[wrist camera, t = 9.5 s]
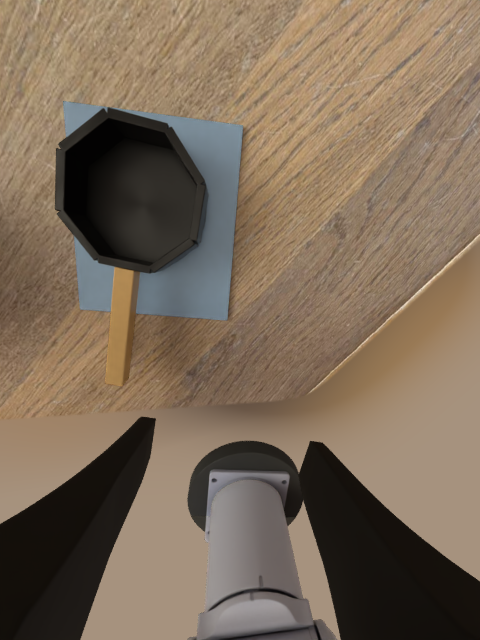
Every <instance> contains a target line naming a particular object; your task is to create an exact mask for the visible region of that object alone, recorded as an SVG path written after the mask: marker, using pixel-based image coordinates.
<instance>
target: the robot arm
mask: <svg viewBox="0 0 480 640" xmlns="http://www.w3.org/2000/svg"><path fill="white" fill-rule="evenodd" d="M155 421H156V419H155V418H148V417H140V418H139V419H138V420H137V421H136V422H135V423H134V424H133V425H132V426H131V427H130V428H129V429H128V430H127V431H126V432H125V433H124V434H123V435H122V436H121V437H120V438H119V439H118V440H117V441H115V442H114V443H113V444H112V445H111V446H110V447H109V448H108V449H107V450H106V451H104V453H102V454H101V455H100V456H98V457H97V458H96V459H95V460H94V461H92V462H91V463H90V464H89V465H87V466H86V467H85V468H84V469H82V470H81V471H80V472H79V473H77V474H76V475H75V476H73V477H72V478H71V479H69V480H68V481H66V482H65V483H64V484H62V485H61V486H60V487H58V488H57V489H55V490H54V491H52V492H51V493H49V494H48V495H46V496H45V497H43V498H42V499H40V500H39V501H37V502H36V503H35V504H33V505H31V506H29V507H28V508H26V509H25V510H23V511H22V512H20V513H18V514H17V515H15V516H13V517H11V518H10V519H8V520H6V521H5V522H3V523H1V524H0V640H80V638H81V636H82V633H83V630H84V627H85V624H86V621H87V618H88V616H89V613H90V610H91V607H92V604H93V601H94V598H95V596H96V593H97V590H98V587H99V584H100V582H101V579H102V576H103V573H104V570H105V568H106V565H107V562H108V559H109V557H110V554H111V552H112V549H113V547H114V544H115V542H116V539H117V537H118V535H119V533H120V531H121V528H122V526H123V524H124V521H125V519H126V517H127V514H128V512H129V510H130V508H131V505H132V503H133V501H134V499H135V496H136V494H137V492H138V489H139V487H140V485H141V483H142V480H143V477H144V474H145V471H146V468H147V465H148V462H149V459H150V455H151V448H152V442H153V435H154V427H155ZM213 478H215V479H213ZM289 479H290V476H289V473H288V472H286V471H258V470H224V469H213V470H211V471H210V475H209V488H208V501H207V515H206V528H205V541H206V542H207V543H209V549H208V565H207V582H206V597H205V612H203V613H200V614H199V615H198V616H199V617H198V628H197V637H190V638H188V639H187V640H337V639H336V637H335V635H334V634H333V632H332V631H331V630H330V629H329V628H328V627H327V626H326V624H325V623H324V622H323V620H321V619H319V620H313V619H312V614H311V610H310V606H309V601H308V600H307V599H303V596H302V591H301V586H300V582H299V577H298V573H297V568H296V564H295V559H294V554H293V550H292V545H291V541H290V537H289V532H288V527H287V523H286V518H285V514H284V507H285V501H286V496H287V490H288V485H289ZM283 480H284V481H283ZM299 481H300V486H301V491H302V496H303V501H304V504H305V507H306V511H307V514H308V517H309V520H310V523H311V526H312V530H313V533H314V536H315V539H316V542H317V546H318V549H319V552H320V555H321V558H322V561H323V565H324V568H325V572H326V576H327V579H328V583H329V588H330V592H331V597H332V601H333V605H334V609H335V614H336V618H337V623H338V628H339V633H340V638H341V640H480V581H478V580H477V579H476V578H474V577H473V576H471V575H470V574H469V573H467V572H466V571H464V570H463V569H461V568H460V567H459V566H457V565H456V564H455V563H453V562H452V561H450V560H449V559H448V558H446V557H445V556H443V555H442V554H441V553H440V552H438V551H437V550H436V549H435V548H433V547H432V546H431V545H430V544H428V543H427V542H426V541H424V540H423V539H422V538H421V537H419V536H418V535H417V534H416V533H415V532H413V531H412V530H411V529H410V528H409V527H408V526H406V525H405V524H404V523H403V522H402V521H401V520H399V519H398V518H397V517H396V516H395V515H394V514H393V513H392V512H390V511H389V510H388V509H387V508H386V507H385V506H384V505H383V504H382V503H381V502H380V501H379V500H378V499H377V498H375V496H373V494H372V493H370V492H369V491H368V490H367V488H365V487H364V486H363V484H361V482H360V481H359V480H358V479H357V478H356V477H355V476H354V475H353V474H352V473H351V472H350V471H349V470H348V469H347V468H346V467H345V466H344V465H343V463H341V462H340V460H339V459H338V458H337V457H336V456H335V455H334V454H333V453H332V452H331V451H330V450H329V449H328V448H327V447H326V446H325V445H324V444H323V443H321V442H314V441H310V443H309V447H308V449H307V452H306V455H305V458H304V461H303V464H302V467H301V470H300V472H299Z"/></svg>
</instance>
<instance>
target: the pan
mask: <svg viewBox="0 0 480 640" xmlns="http://www.w3.org/2000/svg"><path fill="white" fill-rule="evenodd" d="M58 145H59V147H60V148H61V149H59V148H56V183H55V210H57V211H59V212H58V213H57V215H58V216H59V217H60V219H61V220H62V221H63V222H64V224H65V225H66V226H67V227H68V229H69V230H70V231H71V232H72V234H73V235H74V236H75V237H76V239H77V240H78V241H79V242H80V244H81V245H82V246H83V247H84V249H85V250H86V251H87V252H88V254H89V255H90V256H91V257H92V259H93V260H94V261H98V263H99V264H104V265H109V266H114V267H115V268H114V278H113V290H112V303H111V315H110V327H109V340H108V352H107V365H106V377H105V384H109V385H116V386H123V385H124V384H125V382H126V381H127V380H128V379H129V372H130V363H131V354H132V344H133V335H134V326H135V316H136V307H137V298H138V288H139V279H140V272H143V273H148V274H151V273H156V272H159V271H163V270H165V269H166V268H168V267H169V266H170V265H172V264H173V263H175V262H177V261H179V260H180V259H182V258H184V257H185V256H186V255H187V254H189V252H191V251H192V250H194V249H195V248H197V247H198V246H199V245H198V243H201V239H202V233H203V230H204V226H205V222H206V213H207V209H206V208H207V202H208V196H209V194H208V189H207V186H206V183H205V180H204V178H203V176H202V175H201V173H200V172H199V170H198V168H197V167H196V165H195V163H194V162H193V160H192V159H191V157H190V155H189V154H188V152H187V150H186V149H185V147H184V145H183V144H182V142H181V141H180V139H179V137H178V136H177V134H176V132H175V131H174V129H173V127H169V125H168V123H165V122H161V121H157V120H154V119H150V118H146V117H143V116H139V115H135V114H132V113H128V112H124V111H121V110H117V109H113V108H110V107H108V108H107V111H106V110H105V109H104V108H102V109H101V110H100V111H99V112H97V113H96V114H95V115H94V116H92V117H91V118H90V119H89V120H87V121H86V122H85V123H84V124H82V125H81V126H80V127H79V128H77V129H76V130H75V131H74V132H72V133H71V134H70V135H69V136H67V137H66V138H65V139H64V140H62V141H61V142H60V143H59V144H58Z"/></svg>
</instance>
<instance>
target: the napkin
mask: <svg viewBox="0 0 480 640" xmlns="http://www.w3.org/2000/svg"><path fill="white" fill-rule="evenodd" d="M63 106H64V118H65V131H66V137H67V136H69V135H70V134H71V133H72V132H74V131H75V130H76V129H77V128H79V127H80V126H81V125H82V124H84V123H85V122H86V121H87V120H89V119H90V118H91V117H92V116H94V115H95V114H96V113H97V112H99V111H100V110H101V109H102V108H104V109H105V110H106V111H107V108H108V107H103V106H96V105H89V104H81V103H74V102H66V101H63ZM110 108H111V107H110ZM113 109H117V110H121V111H124V112H128V113H132V114H135V115H139V116H143V117H146V118H150V119H154V120H157V121H161V122H165V123H168V125H169V127H173V129H174V131H175V132H176V134H177V136H178V137H179V139H180V141H181V142H182V144H183V145H184V147H185V149H186V150H187V152H188V154H189V155H190V157H191V159H192V160H193V162H194V163H195V165H196V167H197V168H198V170H199V172H200V173H201V175H202V176H203V178H204V180H205V183H206V186H207V189H208V194H209V196H208V202H207V208H206V209H207V213H206V222H205V226H204V230H203V233H202V239H201V243H198V245H199V246H198V247H197V248H195V249H194V250H192V251H191V252H189V254H187V255H186V256H185V257H184V258H182V259H180V260H179V261H177V262H175V263H173V264H172V265H170V266H169V267H168V268H166V269H165V270H163V271H159V272H156V273H151V274H148V273H143V272H140V279H139V288H138V298H137V307H136V314H147V315H160V316H174V317H187V318H200V319H214V320H227V319H228V307H229V294H230V282H231V270H232V257H233V245H234V233H235V221H236V208H237V196H238V184H239V171H240V159H241V147H242V135H243V125H236V124H229V123H222V122H214V121H207V120H199V119H192V118H185V117H177V116H170V115H162V114H155V113H148V112H140V111H133V110H126V109H118V108H113ZM74 241H75V254H76V266H77V278H78V291H79V303H80V309H81V310H94V311H107V312H111V303H112V290H113V278H114V268H115V267H114V266H109V265H104V264H99V263H98V261H94V260H93V259H92V257H91V256H90V255H89V254H88V252H87V251H86V250H85V249H84V247H83V246H82V245H81V244H80V242H79V241H78V240H77V239H76V237H75V236H74Z"/></svg>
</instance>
